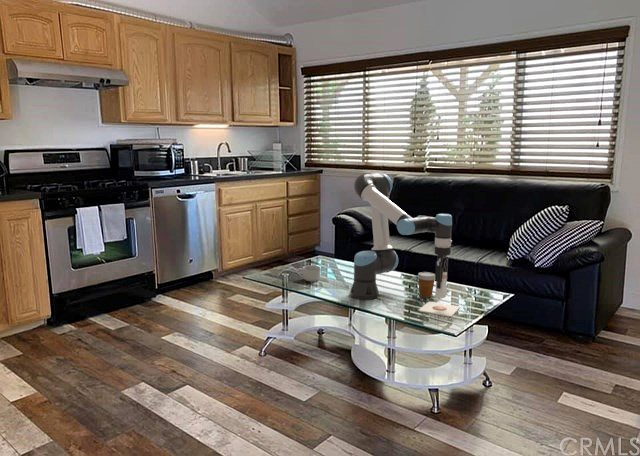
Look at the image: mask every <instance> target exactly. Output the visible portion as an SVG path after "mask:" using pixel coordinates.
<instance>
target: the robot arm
mask: <svg viewBox="0 0 640 456" xmlns="http://www.w3.org/2000/svg"><path fill="white" fill-rule="evenodd" d="M353 190H354V192H355V194H356V196H357V197H359V198H360V199H361V200H362V201H364V202H368V203H369V204H370V210H371V212H370V213H371V214H370V215H371V223H372V224H371V225H372V226H371V227H372V235H373V238H372V239H373V247H372V248H371V250H362V251H358V252H356V254H355V255H354V259H353V260H354V261H353V283H352V286H351V288H350V294H349V295H350V297H351V298H354V299H357V300H362V301H363V300H366V301H367V300H370V301H371V300H374V299H378V298H379V297H380V295H379V293H380V292H379V288H378V284H377V275H381V274H384V273H390V272H392V271H394V270H396V268H397V267H398V264H399V257H398V254H397V253H396V251H395V250H394V248H393V246H392V245H391V243H390V241H391V240H390V230H389V220H390V222H392V223H393V224H394V225H395V226H396V229H397V231H398V233H399V234H400V235H403V236H405V235H406V236H409V235H414V234H420V233H426V232H427V233H434V236H435V237H434V254H435V255H437V258H436V260H435V273H434V274H435V280H434V282H435V292H436V294H437V295H442V275H443V272H447V274H448V271H449V270H448V269H449V268H448V267H449V259H450V258H449V256H450V255H451V252H452V251H451V250H452V249H451V246H452V242H453V240H452V231H453V230H452V229H453V228H452V227H453V216H452V214H450V213H438V214H436V216H435V217H433V216H427V215H417V216H416V217H412V216H411V215H409V214H408V213H406V212H405V210H403V209H401V208H400V207H399V206H398V205H397V204H395V203H394V202H392V201H391V200H390V199H389V198H390V197H389V194H390V193H391V192H392V190H393V181H392V179H391V177H390V176H389V175H388V174H385V173H383V172H382V173H380V172H377V173H362V174H359V175H358V176H357V177H356V178H355V180H354V183H353ZM448 279H449V277H448V276H447V280H448Z"/></svg>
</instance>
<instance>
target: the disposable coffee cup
mask: <svg viewBox="0 0 640 456" xmlns="http://www.w3.org/2000/svg"><path fill="white" fill-rule="evenodd" d="M417 279H418V290H419V291H418V292H419V296H420V297H421V298H431V297H432V296H433V291H434V290H433V289H434V285H435V273H433V272H429V271H422V272H418V274H417Z"/></svg>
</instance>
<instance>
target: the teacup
mask: <svg viewBox="0 0 640 456" xmlns="http://www.w3.org/2000/svg"><path fill="white" fill-rule="evenodd" d="M321 269H322V267H320V266H318V265H313V264H312V265H311V264H308V265H304V266H302V267H299V268H297V270H296V273H297V275H299V276H300V277H301V278H303V279H304V280H305V281H307V282H311V283H312V282H314V283H315V282H317V281H318V280H320V278H321ZM300 271H301V272H302V273H300Z"/></svg>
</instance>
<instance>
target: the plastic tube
mask: <svg viewBox="0 0 640 456" xmlns="http://www.w3.org/2000/svg"><path fill="white" fill-rule="evenodd" d="M447 277H448V273H447V272H443V275H442V295H437V294H436V291H435V292H434V293H435V295H434V296H435V297H436V298H438V299H446V297H447V281H448V279H447Z"/></svg>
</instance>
